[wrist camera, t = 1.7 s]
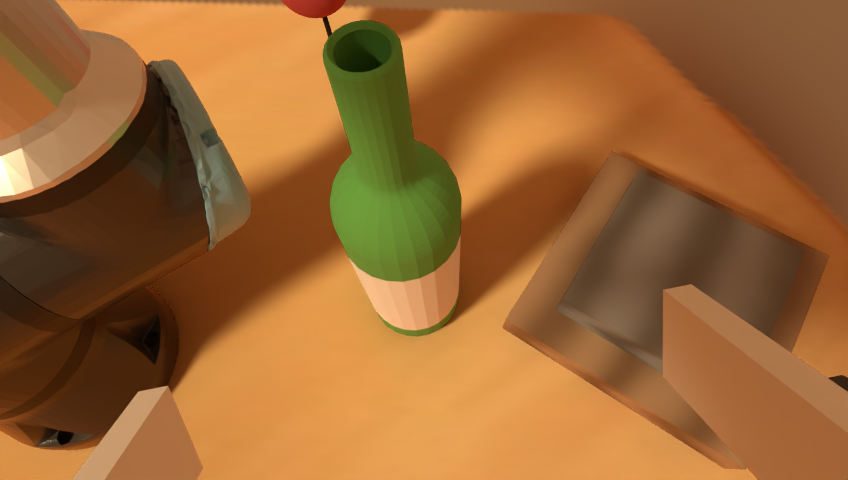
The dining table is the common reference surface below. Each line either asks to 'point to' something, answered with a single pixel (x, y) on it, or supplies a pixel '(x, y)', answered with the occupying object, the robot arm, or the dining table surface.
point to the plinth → (612, 359)
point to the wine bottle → (391, 186)
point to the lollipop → (315, 9)
